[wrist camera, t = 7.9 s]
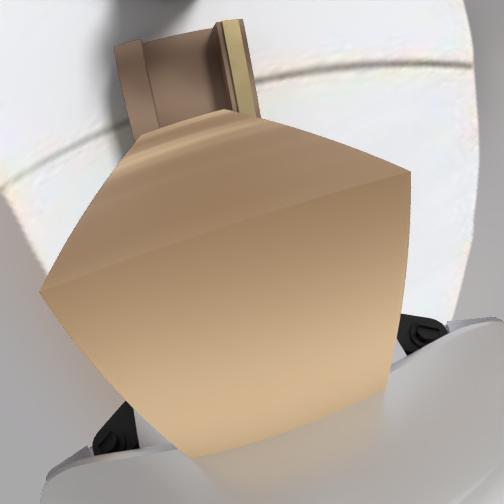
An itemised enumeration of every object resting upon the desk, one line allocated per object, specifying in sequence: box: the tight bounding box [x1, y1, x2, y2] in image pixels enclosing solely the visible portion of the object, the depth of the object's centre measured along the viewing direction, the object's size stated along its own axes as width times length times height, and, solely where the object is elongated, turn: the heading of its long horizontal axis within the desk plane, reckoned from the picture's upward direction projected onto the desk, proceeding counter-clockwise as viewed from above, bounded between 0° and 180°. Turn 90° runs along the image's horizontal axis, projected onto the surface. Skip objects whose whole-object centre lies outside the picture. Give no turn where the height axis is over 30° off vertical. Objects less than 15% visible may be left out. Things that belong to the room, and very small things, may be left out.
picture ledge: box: [114, 19, 261, 142], centre depth 24 cm, size 20×10×4 cm, turn 10°
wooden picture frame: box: [39, 109, 411, 459], centre depth 9 cm, size 12×3×9 cm, turn 13°
